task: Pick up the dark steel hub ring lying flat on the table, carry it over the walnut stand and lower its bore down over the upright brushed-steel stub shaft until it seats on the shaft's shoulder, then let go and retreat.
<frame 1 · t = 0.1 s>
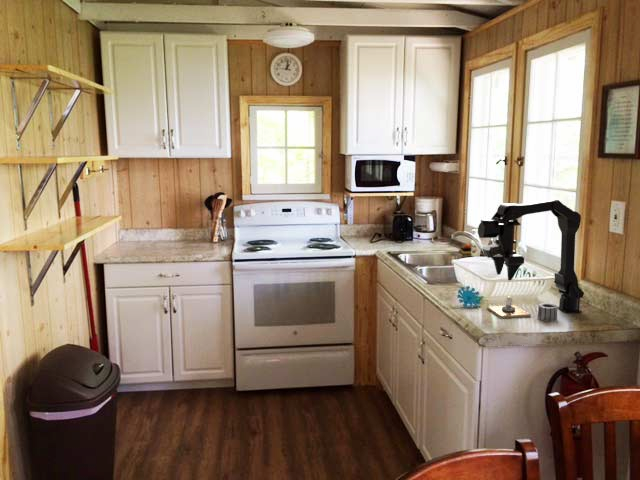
hand: (504, 277, 211), 15 cm above the worktop, fingers open, 9 cm apart
shaft stand: (508, 312, 215), on the worktop
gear: (470, 306, 224), on the worktop
hub: (547, 318, 207), on the worktop
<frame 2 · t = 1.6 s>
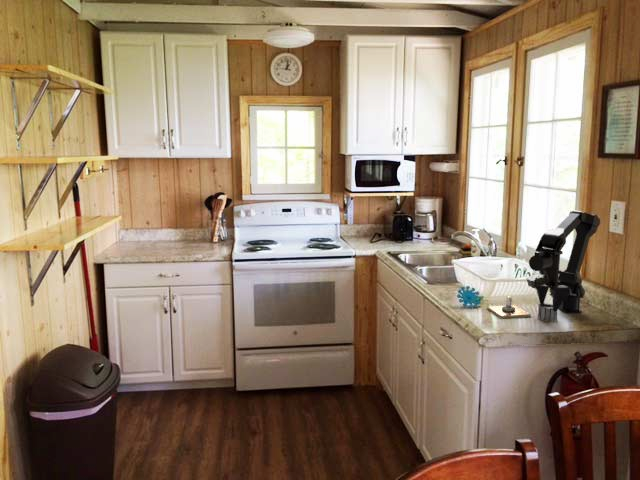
hand: (548, 307, 207), 4 cm above the worktop, fingers open, 9 cm apart
nothing on the worktop moved.
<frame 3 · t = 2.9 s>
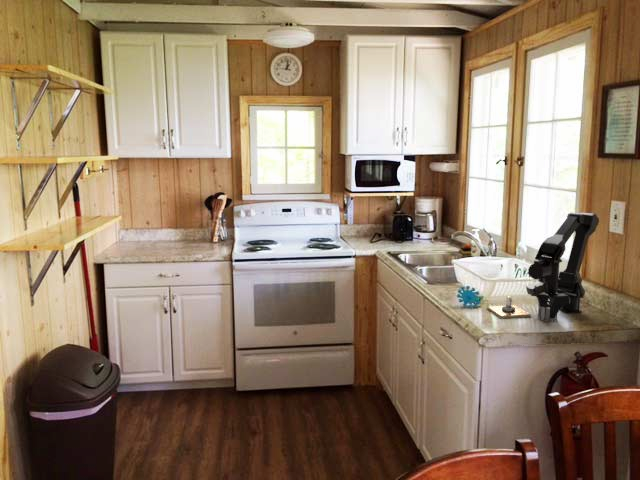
hand: (547, 315, 207), 1 cm above the worktop, fingers closed on hub, 7 cm apart
hub: (547, 318, 207), on the worktop, touching gripper
everything else where it was.
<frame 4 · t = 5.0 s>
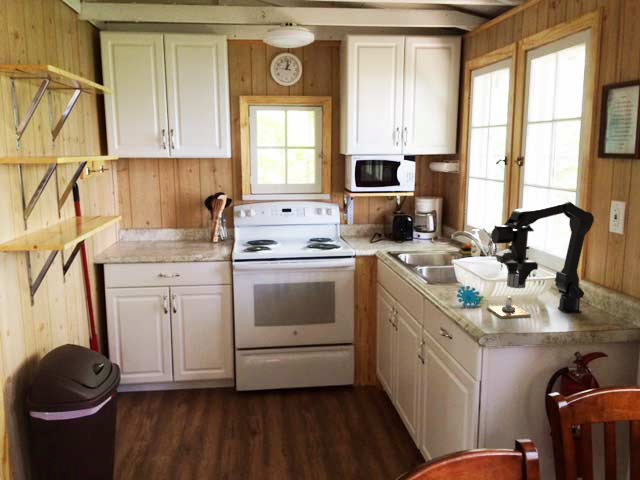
hand: (516, 283, 211), 12 cm above the worktop, fingers closed on hub, 7 cm apart
hub: (516, 286, 211), point 11 cm above the worktop, touching gripper
everything else where it was.
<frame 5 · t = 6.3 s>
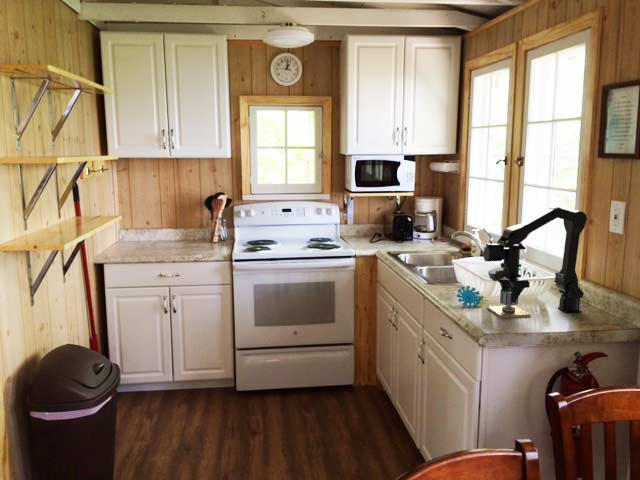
hand: (509, 299, 214), 5 cm above the worktop, fingers closed on hub, 7 cm apart
hub: (509, 302, 214), point 4 cm above the worktop, touching gripper
everything else where it was.
when the fingers open (4 cm above the worktop, at t = 7.4 s): hub stays where it is, resting on shaft stand.
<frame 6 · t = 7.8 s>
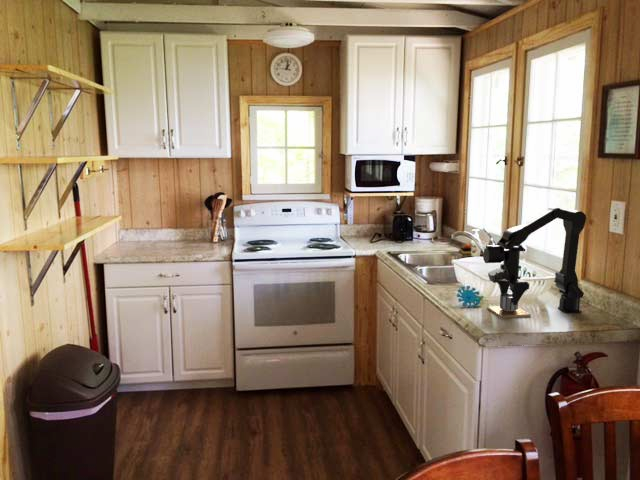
hand: (509, 301, 214), 4 cm above the worktop, fingers open, 9 cm apart
hub: (508, 307, 214), point 2 cm above the worktop, touching shaft stand
everything else where it was.
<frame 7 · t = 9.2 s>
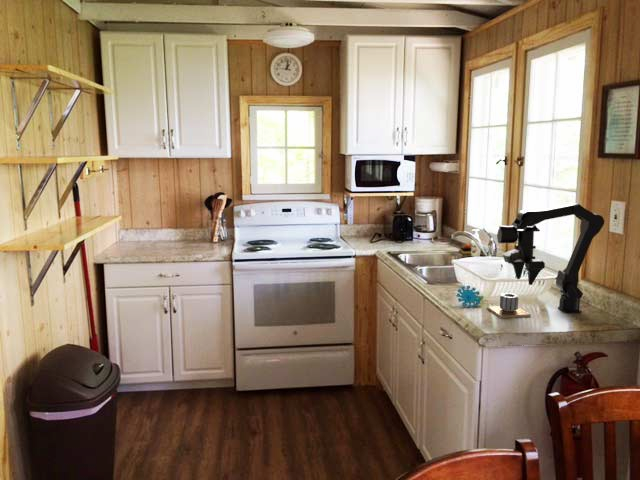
hand: (524, 281, 216), 12 cm above the worktop, fingers open, 9 cm apart
nothing on the worktop moved.
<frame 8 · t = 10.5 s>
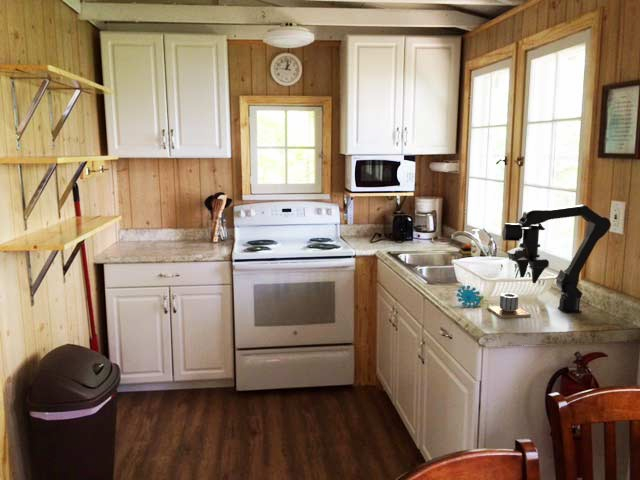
hand: (527, 280, 217), 12 cm above the worktop, fingers open, 9 cm apart
at the end: hub 0.0 cm off-centre on the shaft stand, point 2.0 cm above the shaft stand's base; the gripper is holding nothing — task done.
